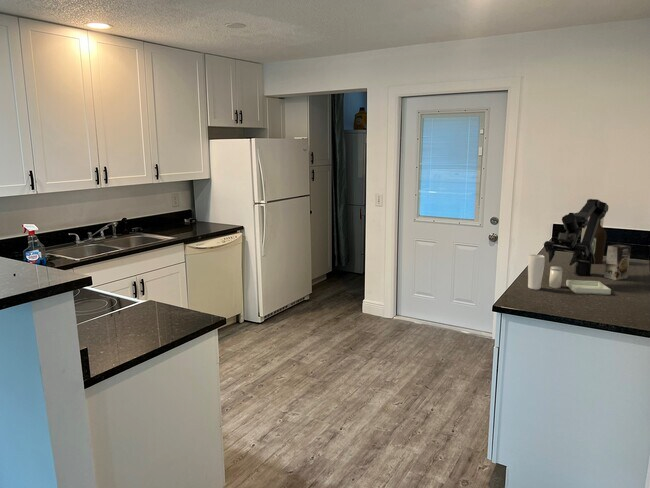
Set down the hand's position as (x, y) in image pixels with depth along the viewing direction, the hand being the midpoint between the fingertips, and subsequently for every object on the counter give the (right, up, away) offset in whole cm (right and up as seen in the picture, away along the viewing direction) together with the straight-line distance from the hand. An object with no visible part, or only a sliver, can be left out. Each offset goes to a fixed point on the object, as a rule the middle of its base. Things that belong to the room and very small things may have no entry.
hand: (559, 263), depth 228 cm
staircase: (+58, +4, +83) cm, 102 cm away
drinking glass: (-13, -11, -3) cm, 18 cm away
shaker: (-2, -11, 0) cm, 11 cm away
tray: (+10, -12, -5) cm, 16 cm away
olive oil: (+43, -1, +51) cm, 66 cm away
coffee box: (+35, -8, +16) cm, 40 cm away
